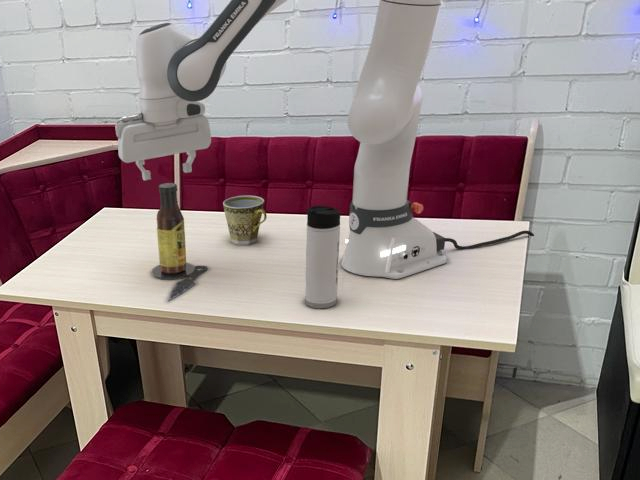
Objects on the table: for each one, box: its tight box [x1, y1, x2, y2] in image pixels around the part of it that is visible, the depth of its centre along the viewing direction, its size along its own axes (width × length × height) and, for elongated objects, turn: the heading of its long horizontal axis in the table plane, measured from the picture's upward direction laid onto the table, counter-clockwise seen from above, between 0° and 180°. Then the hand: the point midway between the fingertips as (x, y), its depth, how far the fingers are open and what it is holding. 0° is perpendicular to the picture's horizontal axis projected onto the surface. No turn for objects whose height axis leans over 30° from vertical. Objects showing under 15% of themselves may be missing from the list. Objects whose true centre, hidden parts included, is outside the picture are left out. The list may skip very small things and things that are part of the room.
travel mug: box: [304, 205, 341, 309], centre depth 147 cm, size 6×7×20 cm
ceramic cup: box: [222, 195, 267, 246], centre depth 184 cm, size 13×10×10 cm
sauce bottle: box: [156, 182, 187, 274], centre depth 169 cm, size 7×6×20 cm
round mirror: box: [151, 262, 195, 281], centre depth 174 cm, size 10×10×1 cm
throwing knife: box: [168, 265, 208, 301], centre depth 168 cm, size 4×20×1 cm, turn 153°
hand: (167, 175), depth 163 cm, fingers open, 8 cm apart
